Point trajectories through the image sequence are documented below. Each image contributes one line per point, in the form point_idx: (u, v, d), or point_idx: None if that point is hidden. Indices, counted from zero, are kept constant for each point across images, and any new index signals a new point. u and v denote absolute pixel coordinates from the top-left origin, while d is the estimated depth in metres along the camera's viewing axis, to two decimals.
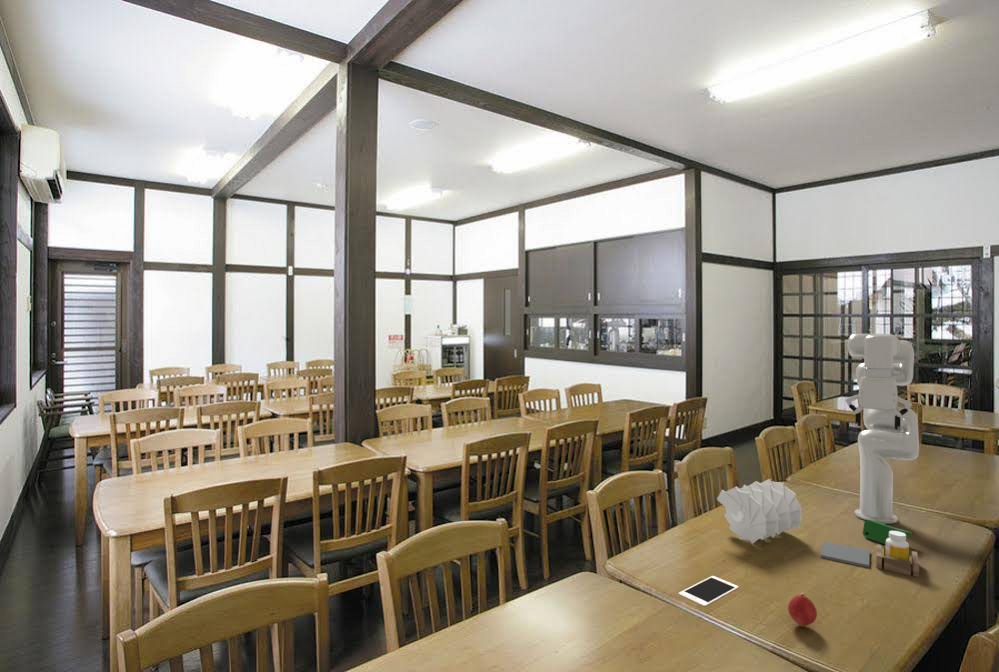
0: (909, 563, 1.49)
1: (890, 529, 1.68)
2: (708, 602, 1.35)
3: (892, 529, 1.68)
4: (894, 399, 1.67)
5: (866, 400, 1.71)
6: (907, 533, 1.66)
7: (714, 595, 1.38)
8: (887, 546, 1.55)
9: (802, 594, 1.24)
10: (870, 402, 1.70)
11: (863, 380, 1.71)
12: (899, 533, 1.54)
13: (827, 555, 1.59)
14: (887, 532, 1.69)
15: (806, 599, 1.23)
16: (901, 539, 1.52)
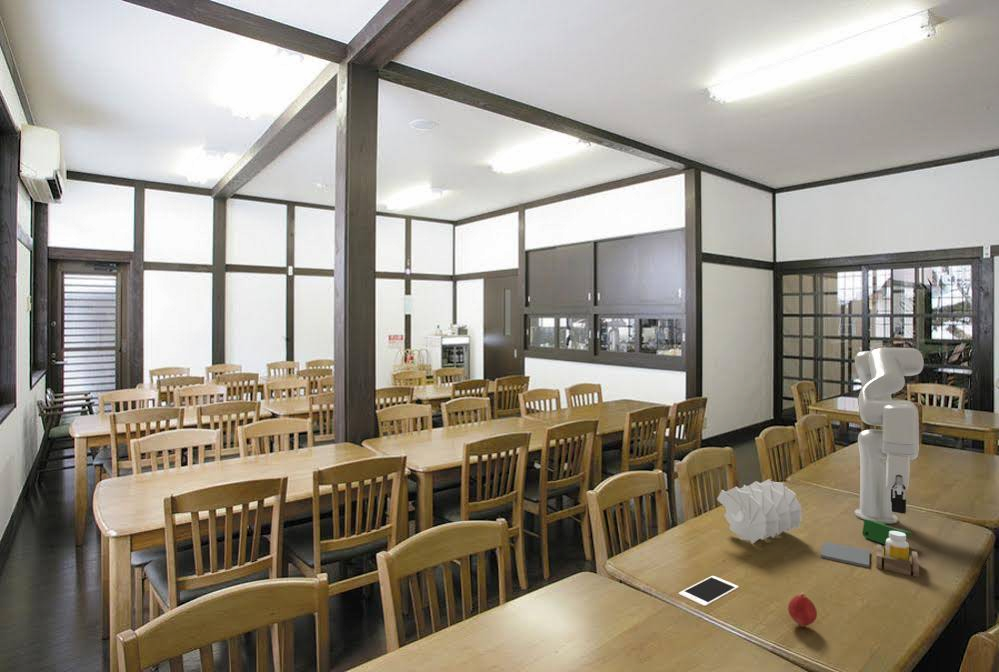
0: (909, 563, 1.49)
1: (890, 529, 1.68)
2: (708, 602, 1.35)
3: (892, 529, 1.67)
4: None
5: (908, 481, 1.50)
6: (907, 533, 1.66)
7: (714, 595, 1.38)
8: (887, 546, 1.55)
9: (802, 594, 1.24)
10: (908, 482, 1.51)
11: (907, 459, 1.49)
12: (899, 533, 1.54)
13: (827, 555, 1.59)
14: (887, 532, 1.68)
15: (806, 599, 1.23)
16: (901, 539, 1.52)
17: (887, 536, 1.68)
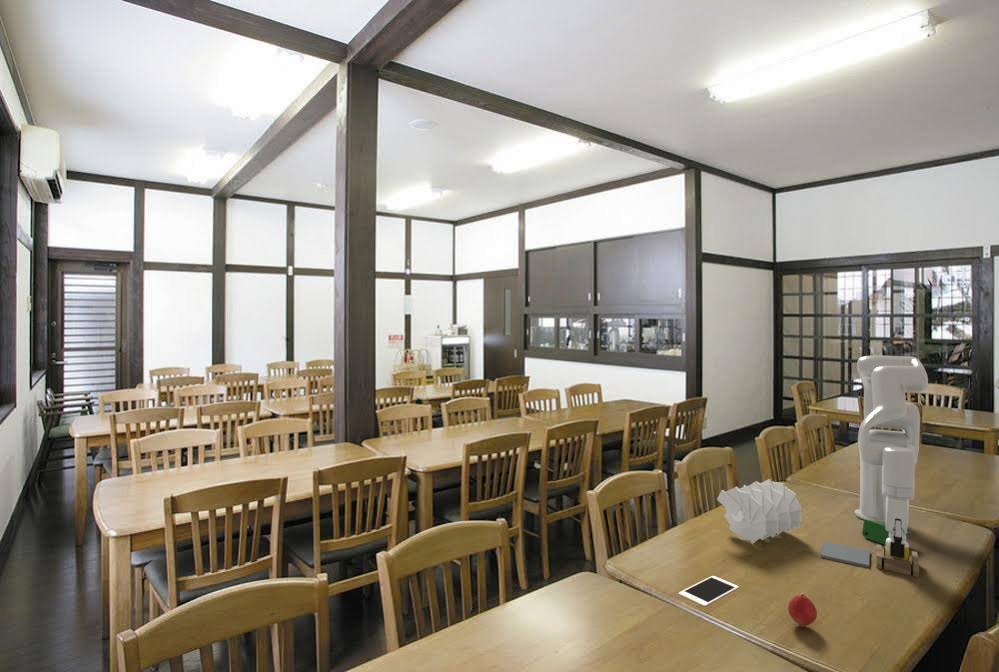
0: (909, 563, 1.49)
1: None
2: (708, 602, 1.35)
3: None
4: None
5: (907, 524, 1.50)
6: (906, 533, 1.66)
7: (714, 595, 1.38)
8: (887, 546, 1.55)
9: (802, 594, 1.24)
10: None
11: (906, 503, 1.50)
12: None
13: (827, 555, 1.59)
14: (886, 532, 1.68)
15: (806, 599, 1.23)
16: None
17: (887, 536, 1.68)
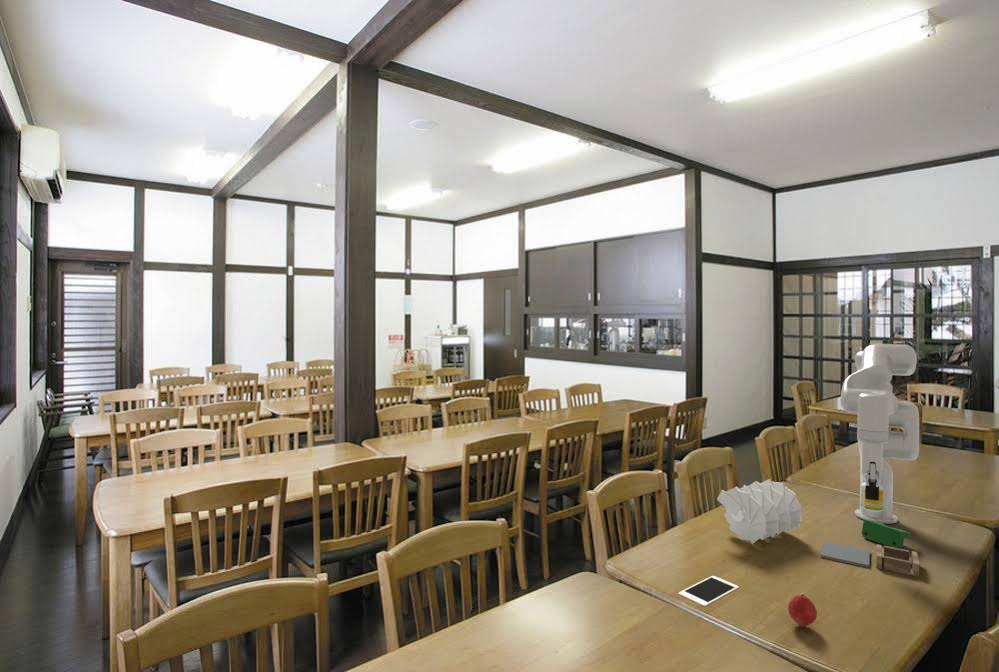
0: (909, 563, 1.49)
1: (889, 529, 1.68)
2: (708, 602, 1.35)
3: (891, 529, 1.67)
4: None
5: None
6: (906, 533, 1.66)
7: (714, 595, 1.38)
8: (862, 490, 1.58)
9: (802, 594, 1.24)
10: None
11: (881, 446, 1.53)
12: None
13: (827, 555, 1.59)
14: (886, 532, 1.68)
15: (806, 599, 1.23)
16: None
17: (886, 536, 1.68)
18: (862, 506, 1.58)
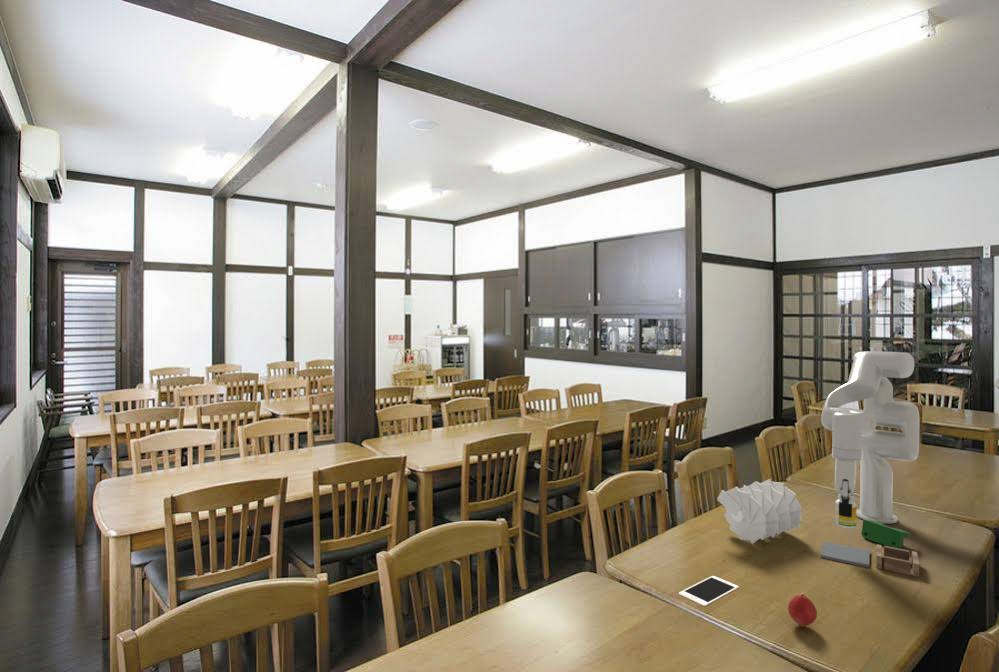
0: (909, 563, 1.49)
1: (889, 529, 1.68)
2: (708, 602, 1.35)
3: (891, 529, 1.67)
4: None
5: (854, 485, 1.57)
6: (906, 533, 1.66)
7: (714, 595, 1.38)
8: (836, 506, 1.61)
9: (802, 594, 1.24)
10: None
11: (853, 464, 1.57)
12: None
13: (827, 555, 1.59)
14: (886, 532, 1.68)
15: (806, 599, 1.23)
16: None
17: (886, 536, 1.68)
18: (836, 522, 1.62)
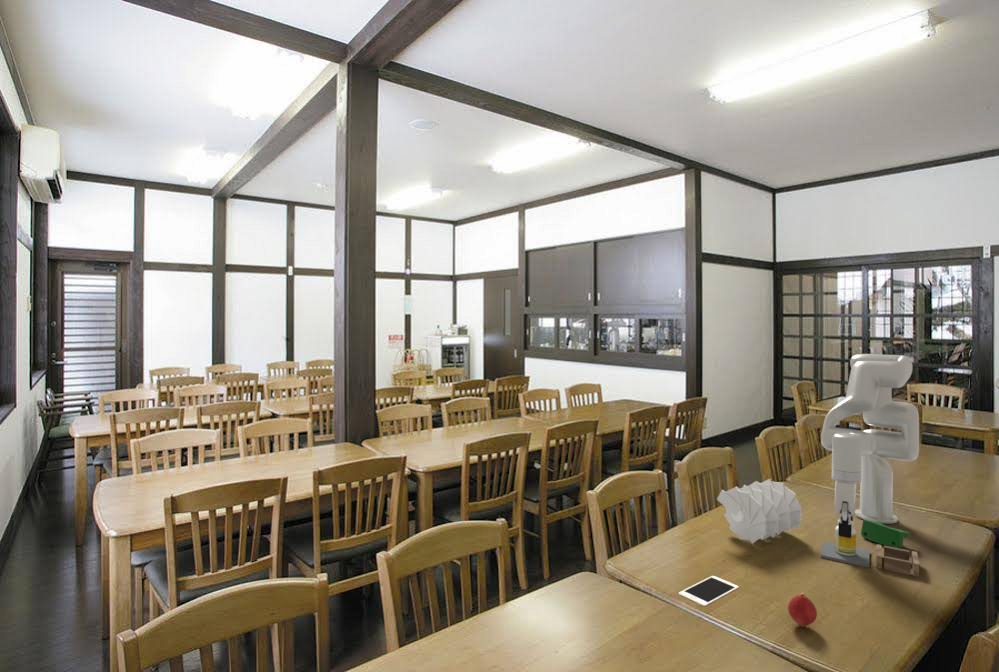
0: (909, 563, 1.49)
1: (888, 530, 1.68)
2: (708, 602, 1.35)
3: (890, 530, 1.67)
4: None
5: (854, 507, 1.58)
6: (905, 534, 1.66)
7: (714, 595, 1.38)
8: (836, 533, 1.62)
9: (802, 594, 1.24)
10: (854, 508, 1.58)
11: (853, 486, 1.57)
12: None
13: (827, 555, 1.59)
14: (885, 533, 1.68)
15: (806, 599, 1.23)
16: None
17: (886, 536, 1.68)
18: (836, 549, 1.62)
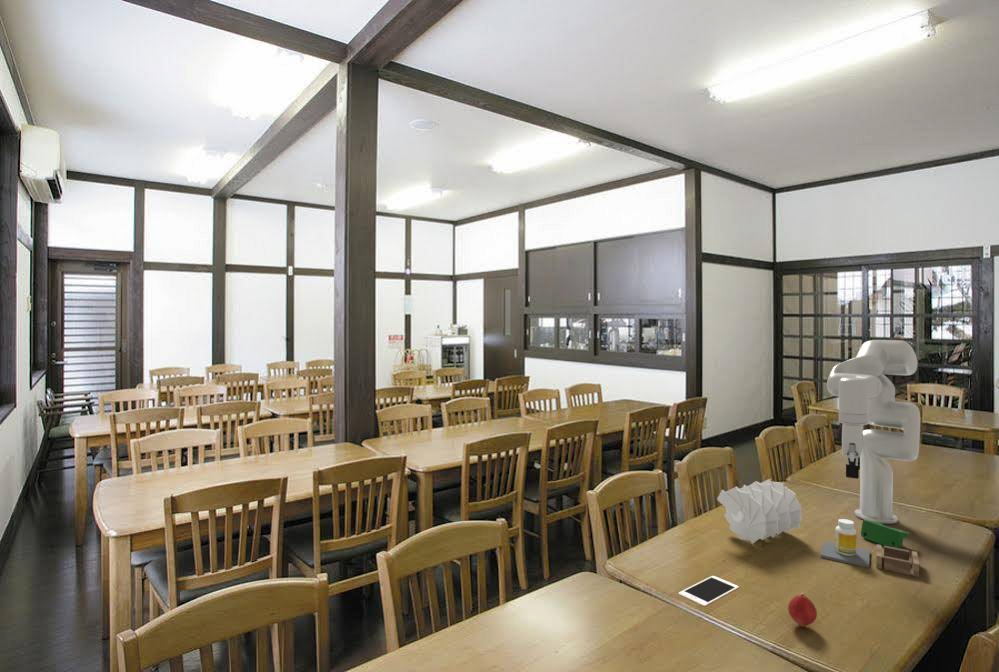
0: (909, 563, 1.49)
1: (888, 530, 1.67)
2: (708, 602, 1.35)
3: (890, 530, 1.67)
4: None
5: (861, 448, 1.60)
6: (905, 534, 1.66)
7: (714, 595, 1.38)
8: (836, 533, 1.62)
9: (802, 594, 1.24)
10: (861, 449, 1.60)
11: (860, 428, 1.59)
12: (847, 521, 1.61)
13: (827, 555, 1.59)
14: (885, 533, 1.68)
15: (806, 599, 1.23)
16: (849, 526, 1.59)
17: (885, 537, 1.68)
18: (836, 549, 1.62)
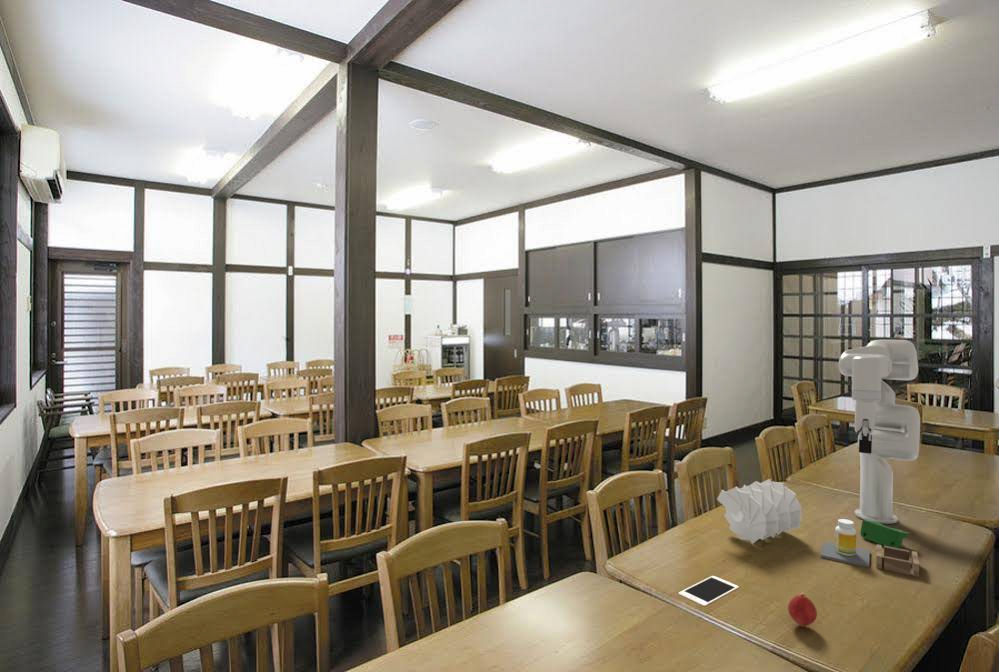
0: (909, 563, 1.49)
1: (888, 530, 1.67)
2: (708, 602, 1.35)
3: (890, 530, 1.67)
4: None
5: (874, 424, 1.64)
6: (905, 534, 1.66)
7: (714, 595, 1.38)
8: (836, 534, 1.62)
9: (802, 594, 1.24)
10: (874, 426, 1.65)
11: (873, 404, 1.63)
12: (847, 521, 1.61)
13: (827, 555, 1.59)
14: (885, 533, 1.68)
15: (806, 599, 1.23)
16: (849, 526, 1.59)
17: (885, 537, 1.68)
18: (836, 549, 1.62)
